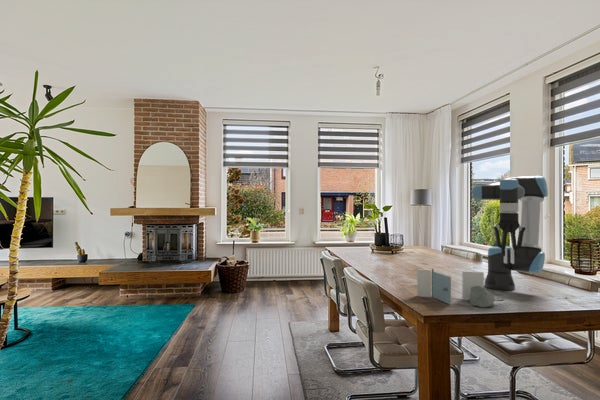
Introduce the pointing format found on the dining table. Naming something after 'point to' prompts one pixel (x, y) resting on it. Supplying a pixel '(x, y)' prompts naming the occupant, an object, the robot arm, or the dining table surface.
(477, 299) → the decorative stone
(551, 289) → the dining table surface
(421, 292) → the wall
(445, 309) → the dining table surface
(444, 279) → the door
